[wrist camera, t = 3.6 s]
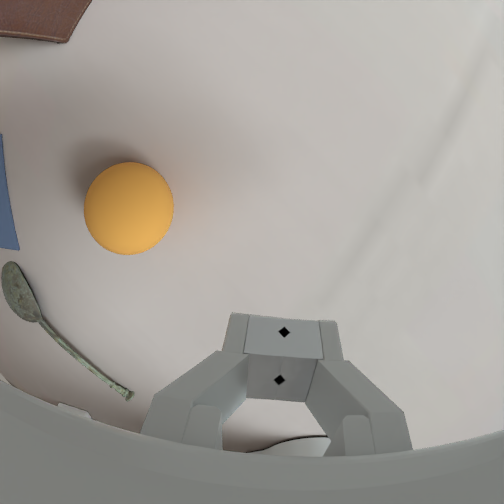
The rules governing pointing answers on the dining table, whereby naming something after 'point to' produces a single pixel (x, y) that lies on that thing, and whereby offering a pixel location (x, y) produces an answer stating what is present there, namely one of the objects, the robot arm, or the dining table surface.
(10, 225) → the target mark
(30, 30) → the letter holder
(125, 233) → the ball
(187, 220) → the dining table surface
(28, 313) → the soupspoon
